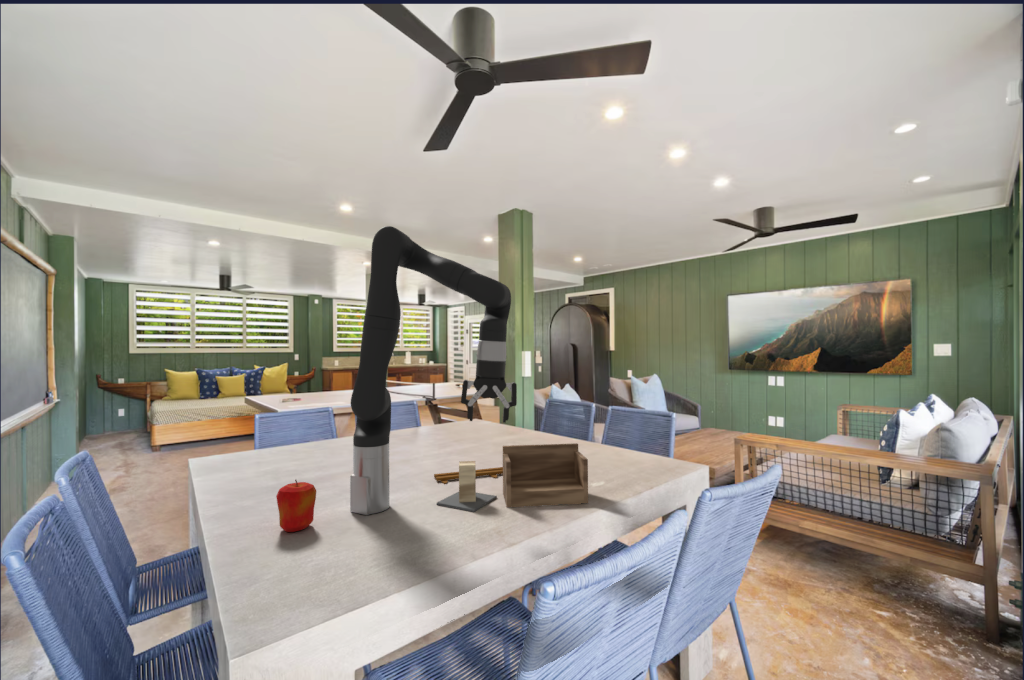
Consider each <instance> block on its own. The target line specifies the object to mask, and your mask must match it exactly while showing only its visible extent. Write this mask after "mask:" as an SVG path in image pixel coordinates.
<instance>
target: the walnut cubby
mask: <svg viewBox="0 0 1024 680" xmlns="http://www.w3.org/2000/svg"><path fill="white" fill-rule="evenodd" d="M502 467H503V474H502V495H503V499H504V503H505V506H506V508H522V507H523V508H525V507H524V506H526V507H543V506H542V505H547V506H559V505H558V504H568V505H582V504H581V503H588V504H589V460H588V458H587V457H586V456H585V455H583V454H582V453H581V452H580V451H579V443H553V444H552V443H551V444H549V443H548V444H544V443H543V444H521V445H520V444H519V445H516V444H515V445H502Z"/></svg>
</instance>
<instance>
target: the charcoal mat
mask: <svg viewBox="0 0 1024 680" xmlns="http://www.w3.org/2000/svg"><path fill="white" fill-rule="evenodd" d="M495 499H498V498H497V495H494V494H493V495H492V494H487V493H481V492H476V502H459V491H457V492H455V493H453V494H451V495H449V496H447V497H445V498H443V499H441V500H439V501H437V502H436V506H440V505H441V506H442V507H445V506H446V507H447V508H452V509H456V510H460V511H461V510H462V511H466V512H467V511H468V512H472V513H474V512H476V511H478V510H480V509H481V508H483V507H485V506H486V505H488V504H489V503H491V502H493V501H494V500H495ZM484 505H485V506H484Z"/></svg>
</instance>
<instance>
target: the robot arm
mask: <svg viewBox="0 0 1024 680" xmlns="http://www.w3.org/2000/svg"><path fill="white" fill-rule="evenodd" d="M370 253H371V255H370V256H371V260H370V261H371V263H370V277H369V285H368V292H367V293H368V294H367V301H366V308H365V312H364V318H363V327H362V334H361V342H360V351H359V352H360V353H359V364H358V370H357V375H356V379H355V382H354V385H353V389H352V392H351V393H352V394H351V398H350V408H351V410H352V412H353V414H354V416H355V417H356V426H355V430H354V434H353V438H352V439H353V440H352V441H353V444H352V446H353V457H352V459H353V460H352V461H353V467H352V468H353V469H352V471H353V474H351V475H350V477H349V478H350V479H349V480H350V481H349V482H350V485H349V486H350V487H349V489H350V490H349V493H350V494H349V495H350V496H349V497H350V498H349V501H350V506H349V508H350V511H349V512H351V513H355V514H360V515H363V516H369V515H371V514H377V513H378V514H379V513H381V512H383V511H386V510H388V509H389V508H390V436H391V435H390V434H391V428H392V426H391V425H392V397H391V393H390V391H389V390H388V389H387V388H386V387H387V376H388V375H387V374H388V371H389V370H388V369H389V368H388V367H389V365H390V361H391V358H392V356H393V354H394V351H395V347H396V344H397V341H398V338H399V337H398V335H399V331H400V326H401V325H400V324H401V318H402V317H401V315H402V311H401V304H400V298H399V293H398V286H397V281H398V280H397V277H398V271H399V267H401V268H404V269H407V270H412V271H415V272H418V273H420V274H422V275H425V276H427V277H429V278H431V279H432V280H434V281H435V282H437V283H439V284H440V285H443V286H444V287H447V288H448V289H450V290H452V291H454V292H457V293H459V294H461V295H464V296H467V297H468V298H470V299H472V300H473V301H475V302H476V303H479V304H481V305H483V306H484V307H485V308H484V315H483V319H481V321H480V325H479V335H478V344H477V348H476V349H477V350H476V351H477V352H476V367H475V369H476V370H475V378H474V380H468V379H464V380H463V383H462V388H461V396H460V397H461V398H460V403H461V404H463V405H465V406H467V413H466V414H467V419H468V420H469V422H473V416H474V404H475V403H476V401H477V400H479V398H480V397H481V398H483V399H489V398H490V399H493V400H494V399H497V398H498V399H499V400H500V402H501V403H502V405H503V406H504V407H503V408H502V409H503V410H502V423H504V424H505V423H506V422H507V421H508V420H509V417H510V408H512V407H516V406H517V403H518V401H517V400H518V399H517V394H518V393H517V389H518V388H517V386H518V384H517V383H516V382H515V381H512V382H506V367H507V366H506V365H507V363H506V362H507V332H508V328H507V327H508V319H509V316H510V311H511V306H512V293H511V290H510V288H509V287H508V286H507V285H505V283H502V282H501V281H499V280H496V279H494V278H491V277H489V276H487V275H484V274H481V273H479V272H477V271H475V270H474V269H472V268H471V267H468V266H466V265H463V264H462V263H459V262H457V261H454V260H452V259H449V258H446V257H443V256H440V255H437V254H434V253H433V252H431V251H429V250H427V249H426V248H425V247H422V246H421V245H419V244H418V243H417V242H415V241H413V240H412V238H410V236H409V235H407V234H405V233H404V232H403V231H401V230H400V229H398V228H396V227H394V226H390V225H386V226H383V227H381V228H379V229H378V230H377V232H376V233H375V234H374V237H373V239H372V243H371V252H370ZM472 386H473V387H474V388H475V390H476V392H475V393H474V394H473V395H472V396H471V398H470V399H468V398H467V393H468V390H469V389H471V387H472ZM506 388H508V390H509V392H511V393H510V396H511V398H510V401H508V400H507V399H506V397H505V396H504V394H503V392H504V390H505V389H506Z"/></svg>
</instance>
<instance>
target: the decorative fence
mask: <svg viewBox="0 0 1024 680" xmlns="http://www.w3.org/2000/svg"><path fill="white" fill-rule="evenodd" d="M498 475H503V466H501V467H500V466H499V467H498V466H497V467H490V468H482V469H481V468H480V469H476V477H483V476H485V477H486V476H490V477H491V478H492V479H497V478H498ZM433 478H434V479H435V481H436V482H441V484H443V483H444V485H447V484H448V483H447V482H449V480H452V481H453V480H459V471H451V472H443V473H442V472H441V473H434V474H433ZM446 483H447V484H446Z"/></svg>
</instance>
